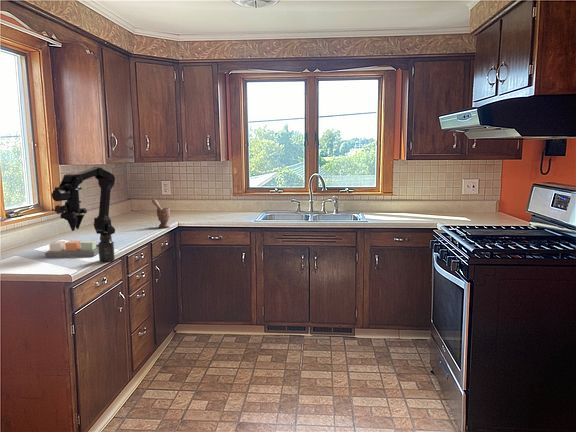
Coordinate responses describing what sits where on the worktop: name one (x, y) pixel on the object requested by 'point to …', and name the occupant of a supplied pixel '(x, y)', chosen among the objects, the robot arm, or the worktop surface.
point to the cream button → (57, 246)
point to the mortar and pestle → (162, 215)
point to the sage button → (88, 245)
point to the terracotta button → (73, 245)
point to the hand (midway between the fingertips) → (75, 229)
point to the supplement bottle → (106, 249)
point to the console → (72, 253)
